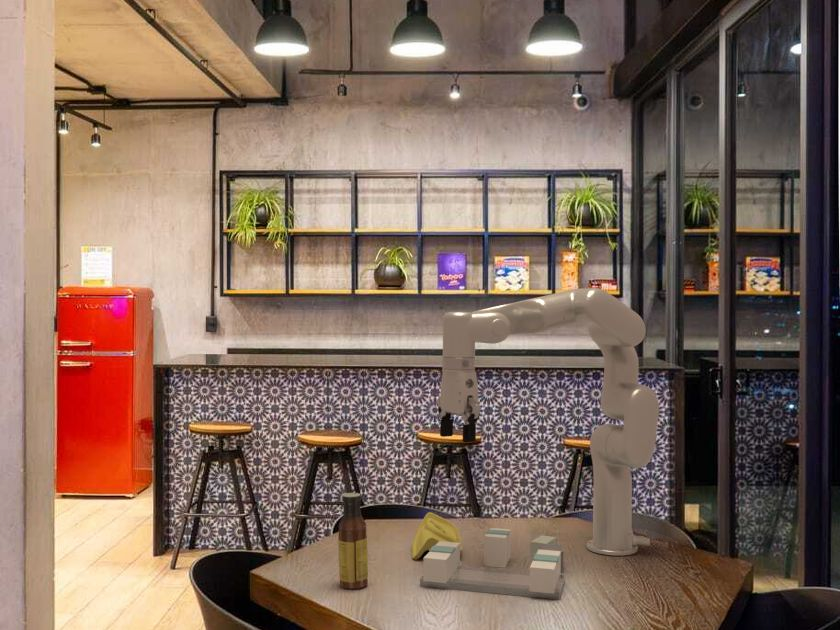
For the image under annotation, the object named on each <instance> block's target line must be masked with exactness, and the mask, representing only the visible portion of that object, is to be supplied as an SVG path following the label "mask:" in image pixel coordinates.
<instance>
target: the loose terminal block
mask: <svg viewBox="0 0 840 630" xmlns="http://www.w3.org/2000/svg"><path fill="white" fill-rule="evenodd" d="M540 544H550V545H558V537H556V536H549V535H543V534H541V535H540V536H538V537H536V538H534V539H533V540H531V541H530V558H532V557H534V556H535V554H537V551H538V549H540Z"/></svg>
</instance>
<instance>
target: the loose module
mask: <svg viewBox="0 0 840 630" xmlns="http://www.w3.org/2000/svg"><path fill="white" fill-rule="evenodd" d="M511 535H512V530H511V529H509V528H507V529H506V528H496V527H495V528H493V527H489V529H487V531H486V532H485V534H484V537H483V538H484V539H483V540H484V542H483V543H484V544H483V546H484V549H483V550H484V551H483V552H484V553H483V555H484V556H483V566H484V565H485V567H486V566H487V567H494V566H495V568H496V567H497V568H506V567H507V565H508V563H509V562H508V561H510V560H511V555H512V554H511V546H512V545H511V544H512V543H511V541H512V540H511V539H512V536H511ZM509 559H510V560H509Z"/></svg>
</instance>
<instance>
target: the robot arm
mask: <svg viewBox="0 0 840 630" xmlns="http://www.w3.org/2000/svg"><path fill="white" fill-rule="evenodd" d="M582 323H586V324H587V330H588V331H587V332H588V335H589V337H590V338H591V340H592V341H593V342H594V343H595V344H596V346H597V347H598V348H599V350H600V352H601V354H602V357H603V360H604V368H603V369H604V371H603V379H602V389H601V396H600V397H601V398H600V409H601V411H602V413H603V414H604V415H605V416H606V417H608V418H610V419H611V418H612V419H613V420H614V419H615V420H618V421H623V425H620V424H614V423H605V424H601V425H599V426H598V427H595V429H594V430H593V431H592V432H591V433H592V434H591V435H590V438H589V449H590V450H589V451H590V455H591V456H590V457H591V462H592V472H593V489H592V492H593V494H592V495H593V496H592V497H593V499H592V500H593V501H592V502H593V504H592V507H593V508H592V510H593V511H592V539H589V540H588V541H587V542H586V548H587V550H588V551H590V552H593V553H596V554H599V555H606V556H615V557H616V556H619V557H620V556H622V557H623V556H630V555H634V554H636V553H637V552H638V550H639V549H638V546H639V545H640V546H644V547H650V546H651V539H650V538H649V537H645V536H643V535H640V536H638V535H636V534H634V530H633V529H632V523H633V522H632V515H633V514H632V510H633V509H632V507H633V506H632V503H633V500H632V499H633V481H632V480H633V479H632V472H631V468H633V469H639V468H643V467H645V466H646V465H648V463H650V462H651V460H652V458H653V455H654V452H655V447H656V439H657V433H658V425H659V424H658V423H659V414H660V404H659V400H658V396H657V394H656V393H655V391H654V390H653V389H652V388H651V387H649V386H647V385H644V384H639V368H640V367H639V366H640V365H639V364H640V363H639V357H638V354H637V350H636V348H635V347H636V346H638V345H639V344H640V343H642V342H643V340H644V338H645V336H646V325H645V322H644V320H643V319H642V317H641V315H639V314H638V313H637V312H636V311H634V310H633V309H632V308H631V307H629V306H628V305H626V304H625V303H623V302H622V301H621V300H619V299H618V298H617V297H615V296H613V295H612V294H611V293H609V292H608V291H606V290H604V289H601V288H598V287H591V288H588V287H587V288H573V289H568V290H564V291H560V292H556V293H551V294H547V295H543V296H538V297H533V298H528V299H523V300H520V301H516V302H511V303H506V304H502V305H496V306H493V307H491V306H490V307H487V308H482V309H479V310H474V311H472V312H469V311H448V312H446V313H444V315H443V318H442V326H443V327H442V369H441V370H442V374H441V375H442V376H441V383H440V396H439V397H438V398H437V399H436V404H437V412H438V414H439V415H438V417H439V420H440V424H439V435H440V437H453V435H454V419H453V415H456V416H457V415H458V416H461V418H462V420H463V422H464V424H462V442H463V443H475V442H476V438H477V431H476V430H477V425H478V420H479V418H480V413H481V412H482V411H481V410H482V405H480V404H479V401H480V400H479V384H478V376H477V372H476V370H475V369H476V358H475V357H476V343H477V344H488V345H489V344H492V345H493V344H494V345H495V344H500V343H502V342H504V341H505V340H506V339H507V338H508V337H509V335H517V334H521V335H523V334H527V335H529V334H538V333H544V332H548V331H552V330H556V329H560V328H564V327H569V326H572V325H576V324H582Z"/></svg>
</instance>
